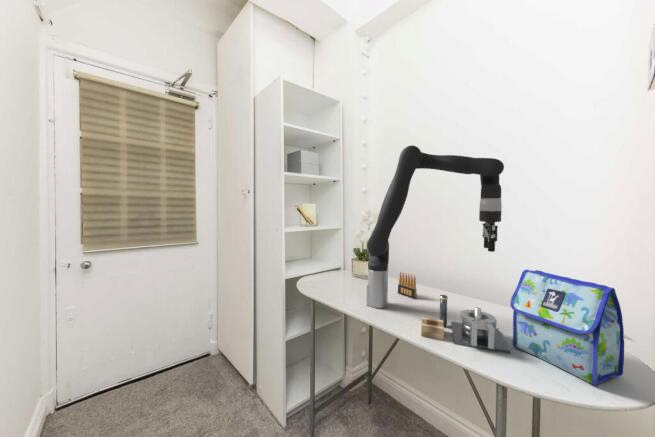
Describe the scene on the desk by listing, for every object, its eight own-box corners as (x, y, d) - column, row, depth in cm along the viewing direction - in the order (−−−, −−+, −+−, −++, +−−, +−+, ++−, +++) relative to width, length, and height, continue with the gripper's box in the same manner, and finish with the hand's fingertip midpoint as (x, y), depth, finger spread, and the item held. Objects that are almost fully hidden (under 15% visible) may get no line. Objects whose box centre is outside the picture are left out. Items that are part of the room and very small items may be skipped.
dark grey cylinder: (439, 326, 100) (440, 296, 100) (439, 323, 103) (439, 294, 102) (447, 328, 99) (447, 297, 99) (446, 325, 102) (447, 295, 101)
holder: (421, 336, 93) (421, 325, 93) (421, 327, 100) (422, 317, 100) (443, 340, 90) (443, 328, 90) (442, 330, 97) (442, 320, 97)
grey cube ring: (463, 343, 85) (464, 323, 85) (458, 324, 99) (459, 306, 99) (502, 350, 81) (502, 328, 81) (491, 329, 95) (492, 311, 95)
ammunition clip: (416, 298, 131) (417, 275, 130) (414, 299, 130) (414, 275, 129) (399, 292, 140) (400, 270, 139) (397, 293, 139) (397, 271, 138)
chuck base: (454, 343, 88) (455, 313, 87) (450, 323, 103) (451, 298, 102) (510, 353, 82) (511, 321, 81) (497, 331, 97) (498, 303, 96)
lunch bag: (504, 348, 85) (507, 270, 84) (537, 338, 91) (539, 266, 90) (593, 393, 65) (598, 291, 63) (627, 377, 71) (632, 284, 69)
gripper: (476, 209, 112) (475, 246, 113) (482, 210, 98) (481, 252, 99) (496, 209, 109) (495, 247, 110) (506, 210, 96) (504, 253, 97)
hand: (489, 249), depth 105 cm, fingers open, 8 cm apart
